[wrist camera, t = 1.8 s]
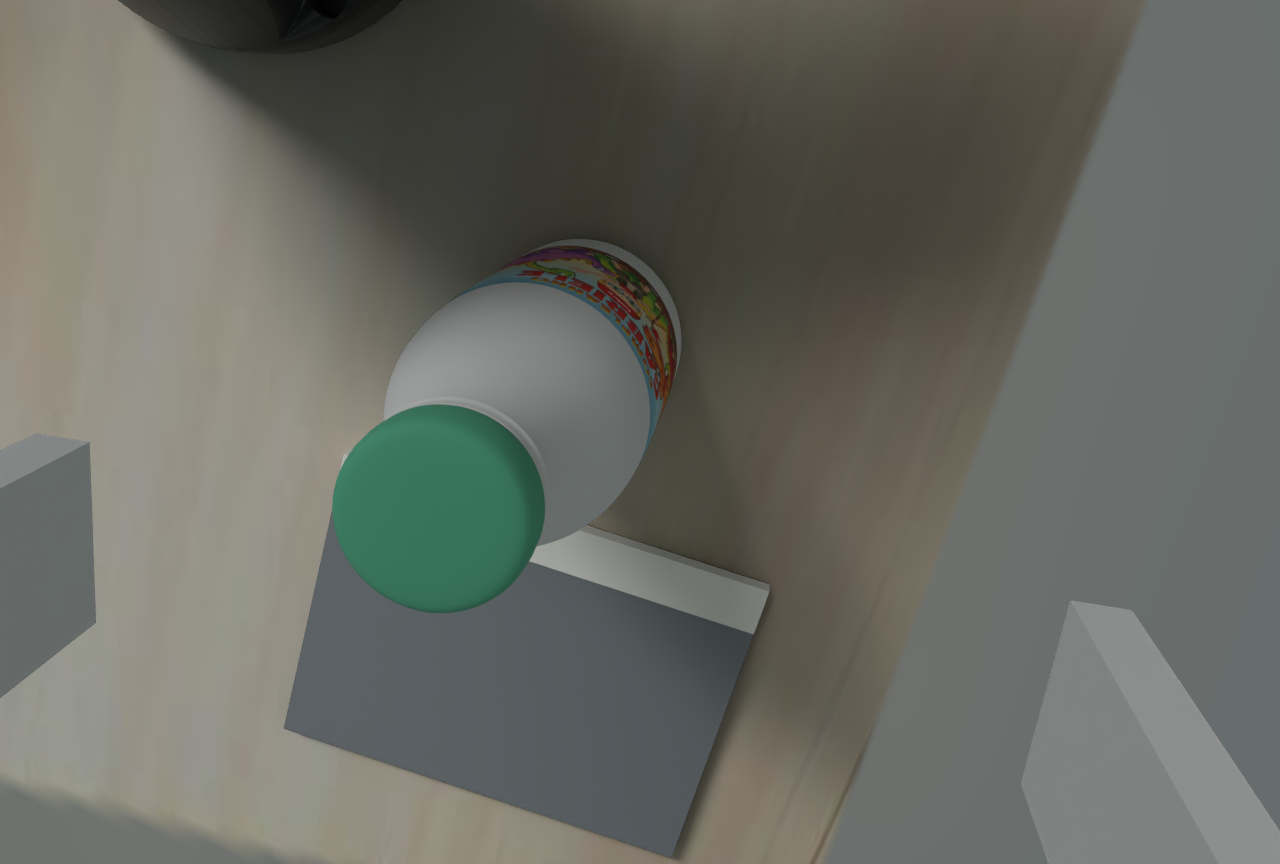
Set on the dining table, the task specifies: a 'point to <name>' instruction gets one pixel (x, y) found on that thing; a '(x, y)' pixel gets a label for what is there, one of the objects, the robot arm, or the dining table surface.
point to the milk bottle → (508, 424)
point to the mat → (539, 681)
